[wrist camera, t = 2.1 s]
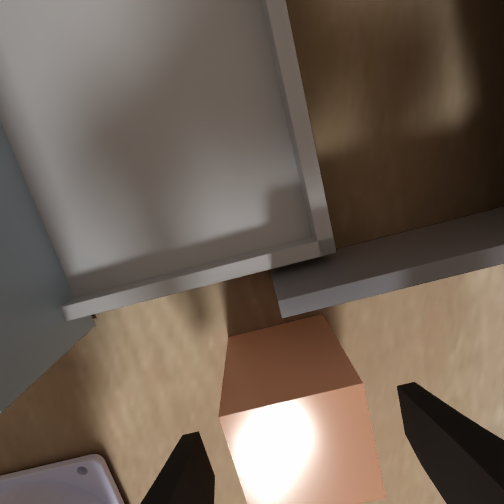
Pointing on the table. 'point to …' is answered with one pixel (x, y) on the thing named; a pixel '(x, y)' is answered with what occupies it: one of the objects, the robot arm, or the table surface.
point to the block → (298, 418)
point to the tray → (144, 161)
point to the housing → (391, 263)
